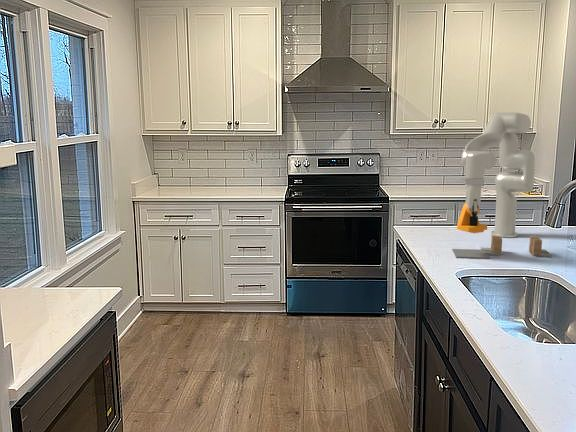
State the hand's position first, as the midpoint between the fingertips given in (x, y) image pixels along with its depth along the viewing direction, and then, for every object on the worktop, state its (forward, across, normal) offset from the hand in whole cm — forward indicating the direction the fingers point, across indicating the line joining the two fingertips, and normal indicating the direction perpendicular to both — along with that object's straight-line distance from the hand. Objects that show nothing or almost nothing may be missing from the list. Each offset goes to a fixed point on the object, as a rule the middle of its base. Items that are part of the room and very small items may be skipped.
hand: (472, 223), depth 240 cm
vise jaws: (+13, -4, +19) cm, 24 cm away
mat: (+13, 0, 0) cm, 13 cm away
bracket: (+3, +1, 0) cm, 3 cm away
